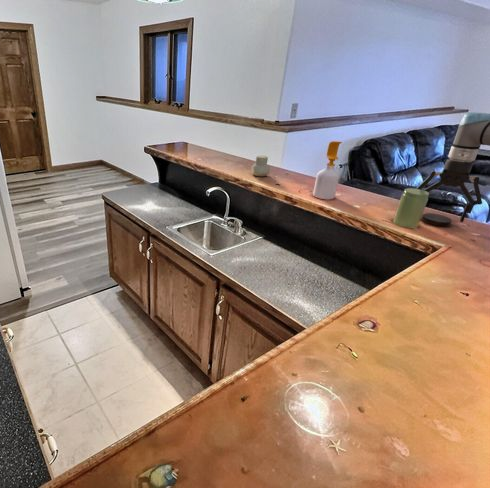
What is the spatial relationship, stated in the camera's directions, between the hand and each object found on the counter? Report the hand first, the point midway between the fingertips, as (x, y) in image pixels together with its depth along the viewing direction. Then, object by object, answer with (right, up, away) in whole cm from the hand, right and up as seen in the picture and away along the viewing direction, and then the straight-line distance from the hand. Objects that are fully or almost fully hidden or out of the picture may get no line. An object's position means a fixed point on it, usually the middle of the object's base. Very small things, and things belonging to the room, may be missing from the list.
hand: (438, 216), depth 131 cm
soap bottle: (-31, +11, +27) cm, 43 cm away
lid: (0, -1, +1) cm, 1 cm away
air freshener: (-52, +27, +57) cm, 81 cm away
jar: (-13, -3, 0) cm, 13 cm away
